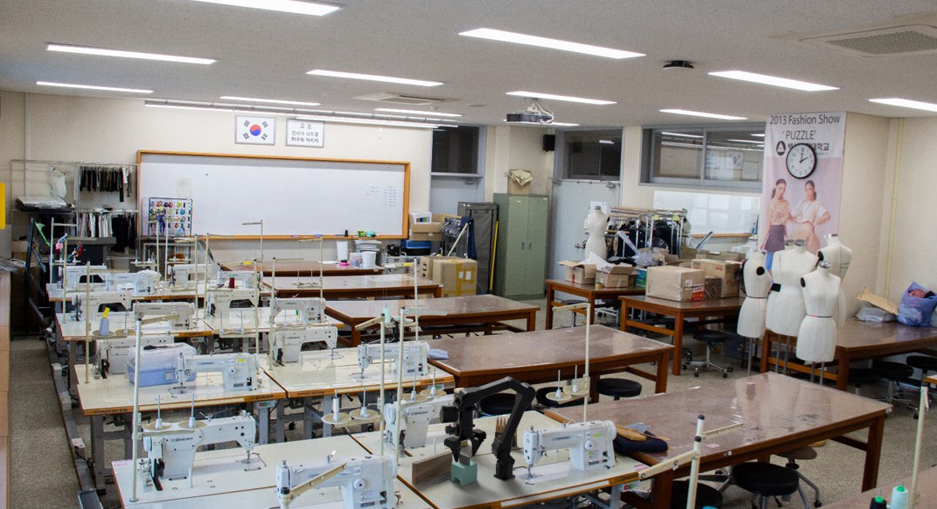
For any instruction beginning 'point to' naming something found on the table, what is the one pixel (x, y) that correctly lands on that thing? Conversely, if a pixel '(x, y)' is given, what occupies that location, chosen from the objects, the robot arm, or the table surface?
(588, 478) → the table surface
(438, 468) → the brown wooden beam
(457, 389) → the bark textured cylinder
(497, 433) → the ammunition clip
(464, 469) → the teal handled box
